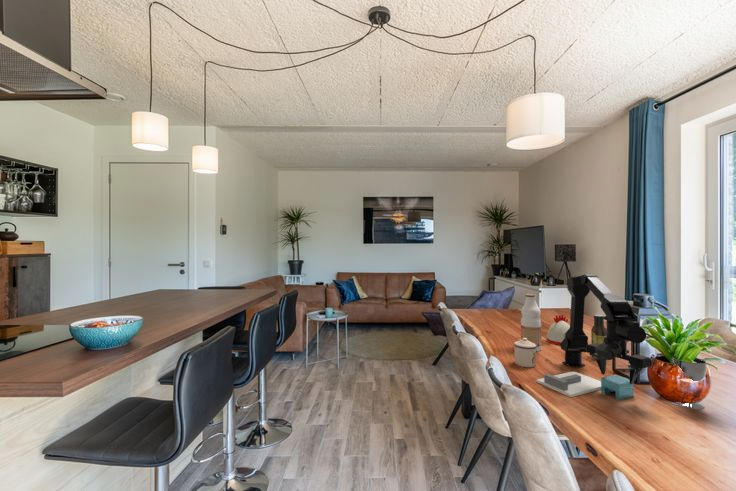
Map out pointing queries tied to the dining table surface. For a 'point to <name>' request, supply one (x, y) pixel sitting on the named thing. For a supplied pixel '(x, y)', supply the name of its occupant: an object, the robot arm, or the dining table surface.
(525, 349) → the teacup with lid
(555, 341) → the kitchen timer
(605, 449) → the dining table surface
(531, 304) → the fruit juice
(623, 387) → the slotted lock block
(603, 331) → the sauce bottle
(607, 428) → the dining table surface
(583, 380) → the rail base plate
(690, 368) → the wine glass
